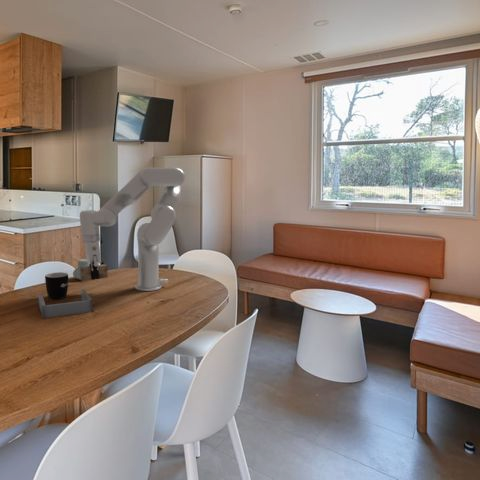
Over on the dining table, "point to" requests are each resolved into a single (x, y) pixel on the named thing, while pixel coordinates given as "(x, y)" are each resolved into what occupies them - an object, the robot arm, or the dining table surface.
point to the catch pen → (66, 306)
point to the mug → (56, 285)
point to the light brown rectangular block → (86, 272)
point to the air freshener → (80, 264)
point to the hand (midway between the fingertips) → (94, 277)
